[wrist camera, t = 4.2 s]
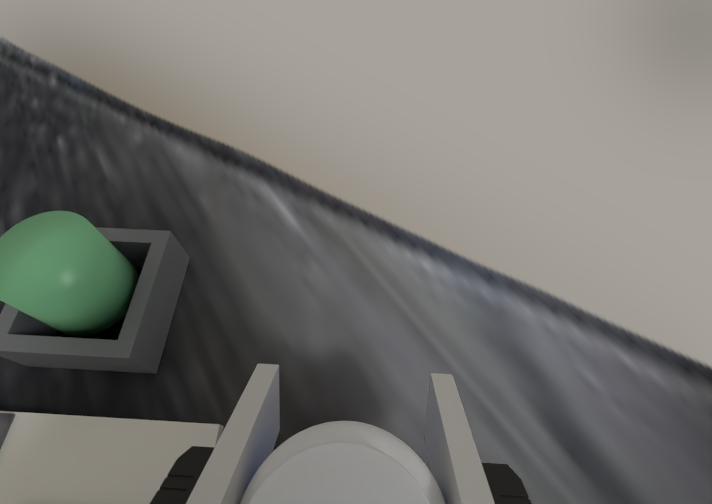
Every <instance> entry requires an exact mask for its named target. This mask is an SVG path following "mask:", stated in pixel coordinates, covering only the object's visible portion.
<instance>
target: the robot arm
mask: <svg viewBox="0 0 712 504" xmlns="http://www.w3.org/2000/svg"><path fill="white" fill-rule="evenodd" d="M279 431H280V405H279V365H276V364H257V366H256V368H255V370H254V372H253V374H252V376H251V378H250V380H249V382H248V384H247V386H246V388H245V390H244V392H243V393H242V395H241V397H240V399H239V401H238V403H237V405H236V407H235V409H234V411H233V413H232V415H231V417H230V419H229V421H228V423H227V425H226V427H225V429H224V430H223V432H222V434H221V436H220V438H219V440H218V442H217V444H216V446H215V447H200V446H192V447H191V448H189V449H188V450H187V451H186V452H185V453H183V454H182V455H181V456H180V457H179V458H178V459H177V460H176V461H175V463H174V465H173V466H172V468H171V470H170V471H169V473H168V476H167V478H165V479H164V481H163V483H162V484H161V486H160V489H159V491H157V492H156V494H155V496H154V497H153V499H152V501H151V502H150V504H240V503H241V500H242V498H243V495H244V493H245V491H246V489H247V487H248V485H249V483H250V481H251V480H252V478H253V476H254V475H255V473H256V471H257V470H258V469H259V467H260V466H261V465H262V463H263V462H264V461H265V460H266V459H267V457H268V456H269V455H270V454H271V453H272V452H273V449H274V446H275V443H276V440H277V437H278V434H279ZM424 439H425V445H426V451H427V457H428V463H429V469H430V472H431V473H432V475H433V477H434V478H435V480H436V482H437V484H438V486H439V488H440V490H441V493H442V495H443V498H444V501H445V503H446V504H531V502H530V500H529V499H528V495H527V492H526V490H525V488H524V485H523V483H522V481H521V479H520V478H519V477H518V476H517V475H516V473H515V472H514V471H513V470H512V469H511V468H510V467H509V466H508V465H506V464H490V463H481V460H480V457H479V454H478V451H477V448H476V445H475V442H474V439H473V436H472V433H471V430H470V427H469V424H468V421H467V418H466V414H465V411H464V408H463V405H462V402H461V399H460V396H459V393H458V390H457V387H456V384H455V381H454V378H453V375H452V374H436V373H431V376H430V386H429V396H428V407H427V417H426V427H425V438H424Z"/></svg>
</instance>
